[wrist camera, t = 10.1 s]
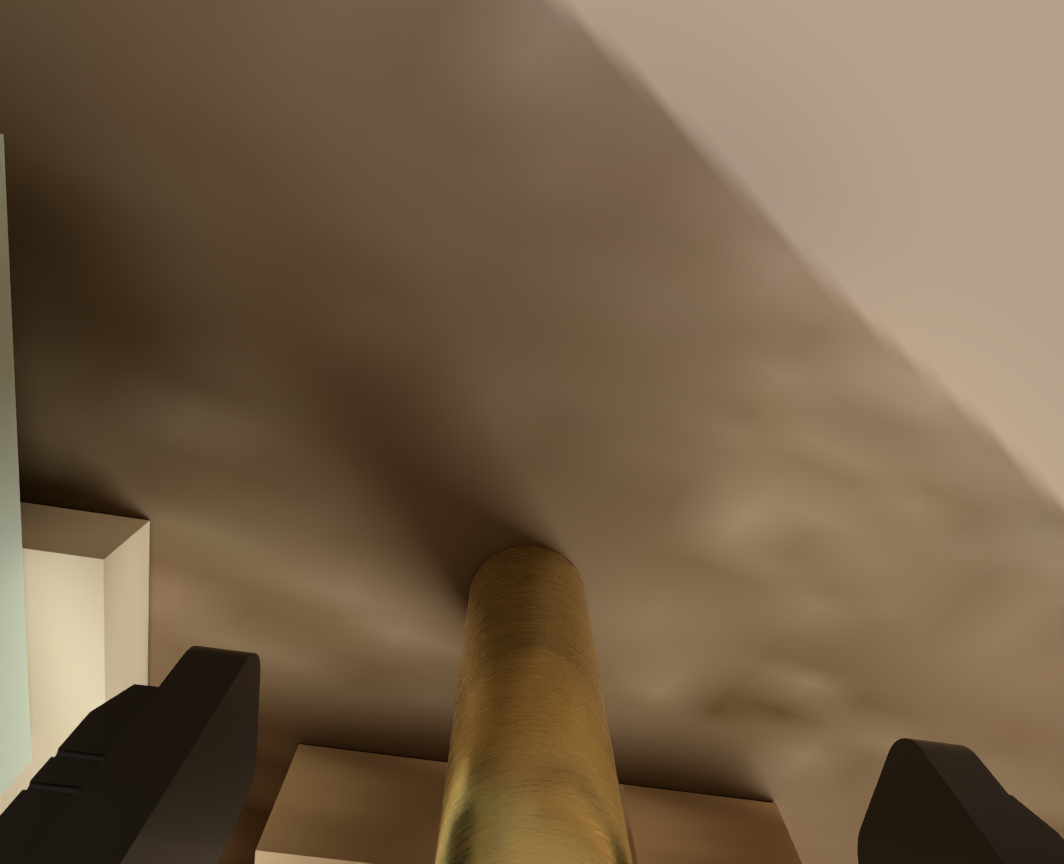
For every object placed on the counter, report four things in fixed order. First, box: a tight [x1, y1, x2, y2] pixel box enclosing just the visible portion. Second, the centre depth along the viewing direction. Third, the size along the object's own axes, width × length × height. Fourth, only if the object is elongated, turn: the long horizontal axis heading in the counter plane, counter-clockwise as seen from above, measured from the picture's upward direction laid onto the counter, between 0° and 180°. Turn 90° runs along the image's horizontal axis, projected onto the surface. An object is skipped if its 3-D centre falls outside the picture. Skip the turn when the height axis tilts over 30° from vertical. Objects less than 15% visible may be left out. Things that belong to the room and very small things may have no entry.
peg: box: [435, 546, 632, 864], centre depth 9 cm, size 2×2×9 cm
